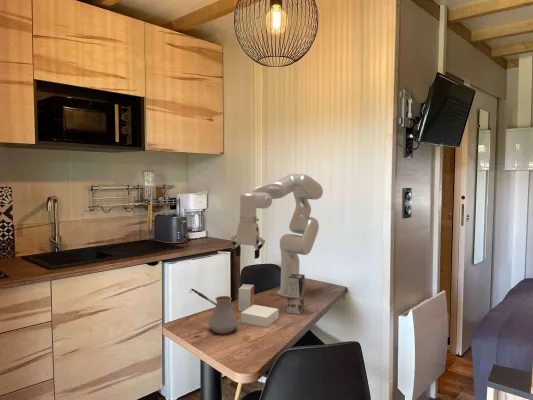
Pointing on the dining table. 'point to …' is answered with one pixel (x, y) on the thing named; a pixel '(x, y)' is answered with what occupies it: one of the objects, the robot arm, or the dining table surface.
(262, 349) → the dining table surface
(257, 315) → the cream white block
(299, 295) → the coffee box
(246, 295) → the small box
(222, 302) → the coffee pot
